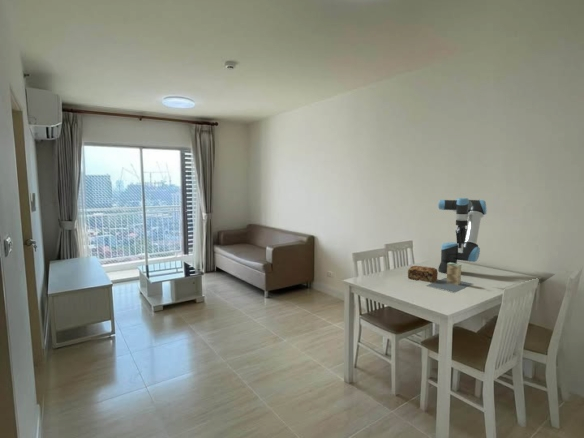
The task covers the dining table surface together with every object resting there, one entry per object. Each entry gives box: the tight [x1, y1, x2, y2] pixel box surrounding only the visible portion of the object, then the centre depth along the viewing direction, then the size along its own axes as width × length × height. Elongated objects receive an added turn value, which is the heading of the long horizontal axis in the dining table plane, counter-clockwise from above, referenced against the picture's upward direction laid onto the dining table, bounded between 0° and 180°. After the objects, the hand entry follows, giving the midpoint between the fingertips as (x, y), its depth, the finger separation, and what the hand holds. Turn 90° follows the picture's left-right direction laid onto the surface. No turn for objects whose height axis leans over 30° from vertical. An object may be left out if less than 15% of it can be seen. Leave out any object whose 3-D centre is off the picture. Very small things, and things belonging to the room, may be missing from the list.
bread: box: [407, 265, 439, 283], centre depth 250 cm, size 19×11×10 cm, turn 44°
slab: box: [446, 263, 462, 285], centre depth 238 cm, size 8×4×14 cm, turn 39°
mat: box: [425, 277, 473, 294], centre depth 236 cm, size 20×28×1 cm
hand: (460, 252), depth 242 cm, fingers closed
